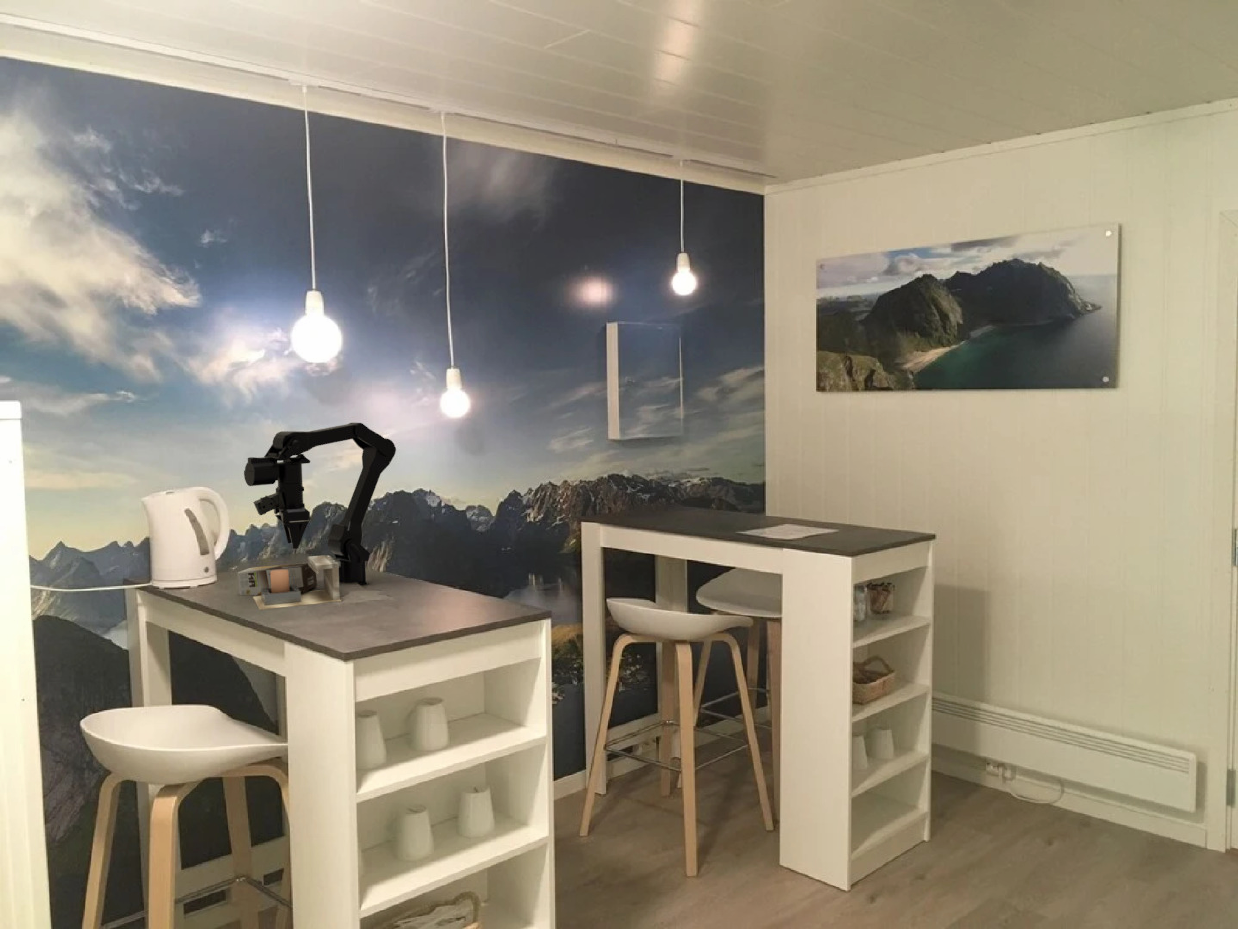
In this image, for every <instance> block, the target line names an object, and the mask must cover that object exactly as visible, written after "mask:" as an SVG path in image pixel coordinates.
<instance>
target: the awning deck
mask: <svg viewBox="0 0 1238 929" xmlns="http://www.w3.org/2000/svg"><path fill="white" fill-rule="evenodd" d="M307 563H308V565H309V566H310V567H311V568H312V569H313V571H314V572H315V573H316V575H319V570H323V588H324V589H314V590H307V591H305V592H301V602H294V603H285V604H275V605H266V606H265V604H264V602H263V601H262V599H261V595H253V597H252V598H253V600H254V601H255V604H256V605H257V607H258V609H259V610H260V611H261V610H270V609H278V608H288V607H290V608H291V607H297V606H298V607H299V606H307V605H315V604H326V603H327V604H328V603H335V602H342V600H341V597H340V583H339V567H338V566H339V563H338V561H337V560H336V559H335V558H333V557H332V556H331V555H329V554H326V555H323V554H322V555H315V556H314V555H313V556H307Z"/></svg>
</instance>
